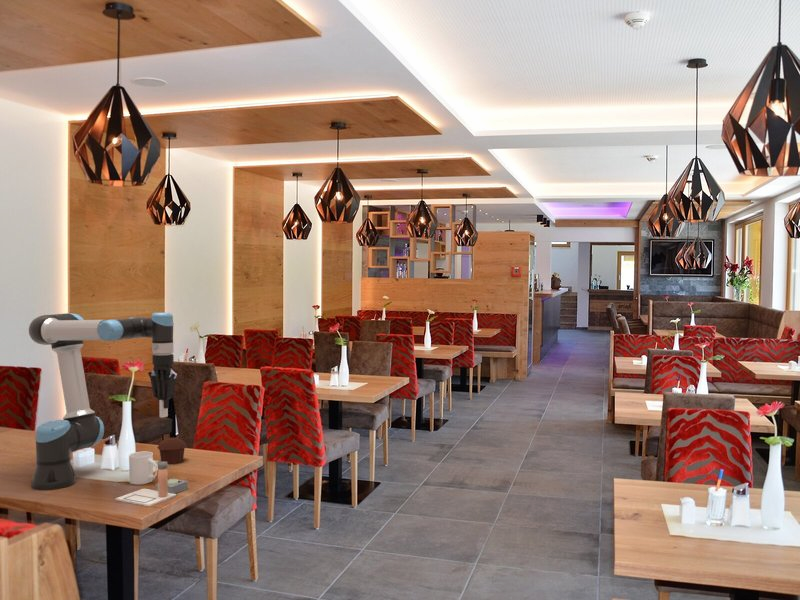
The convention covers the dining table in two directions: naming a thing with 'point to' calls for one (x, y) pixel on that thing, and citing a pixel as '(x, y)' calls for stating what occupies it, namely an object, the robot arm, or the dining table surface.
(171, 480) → the button
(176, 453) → the muffin
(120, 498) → the sheet
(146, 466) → the mug
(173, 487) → the button housing
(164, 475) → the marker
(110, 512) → the dining table surface
